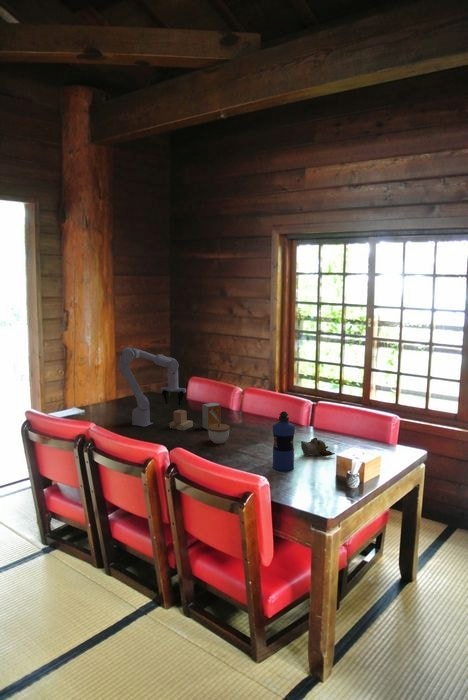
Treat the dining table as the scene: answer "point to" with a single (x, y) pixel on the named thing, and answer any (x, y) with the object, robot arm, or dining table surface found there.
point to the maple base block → (181, 425)
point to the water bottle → (283, 444)
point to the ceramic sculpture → (315, 448)
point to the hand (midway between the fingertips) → (173, 404)
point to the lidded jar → (218, 432)
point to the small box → (211, 414)
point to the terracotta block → (180, 416)
